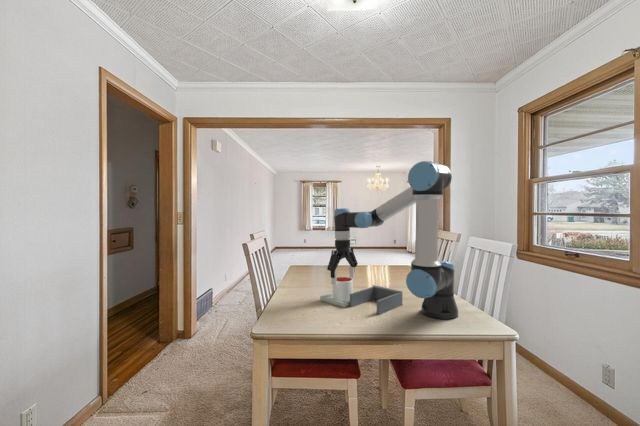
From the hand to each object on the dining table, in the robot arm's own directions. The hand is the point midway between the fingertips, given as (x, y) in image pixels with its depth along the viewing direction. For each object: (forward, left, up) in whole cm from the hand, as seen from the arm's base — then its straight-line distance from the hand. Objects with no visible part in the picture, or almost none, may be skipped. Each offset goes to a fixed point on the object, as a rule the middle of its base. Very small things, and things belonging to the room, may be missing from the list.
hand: (343, 282), depth 160 cm
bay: (-17, -5, -9) cm, 20 cm away
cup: (0, 0, -9) cm, 9 cm away
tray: (0, 0, -9) cm, 9 cm away
